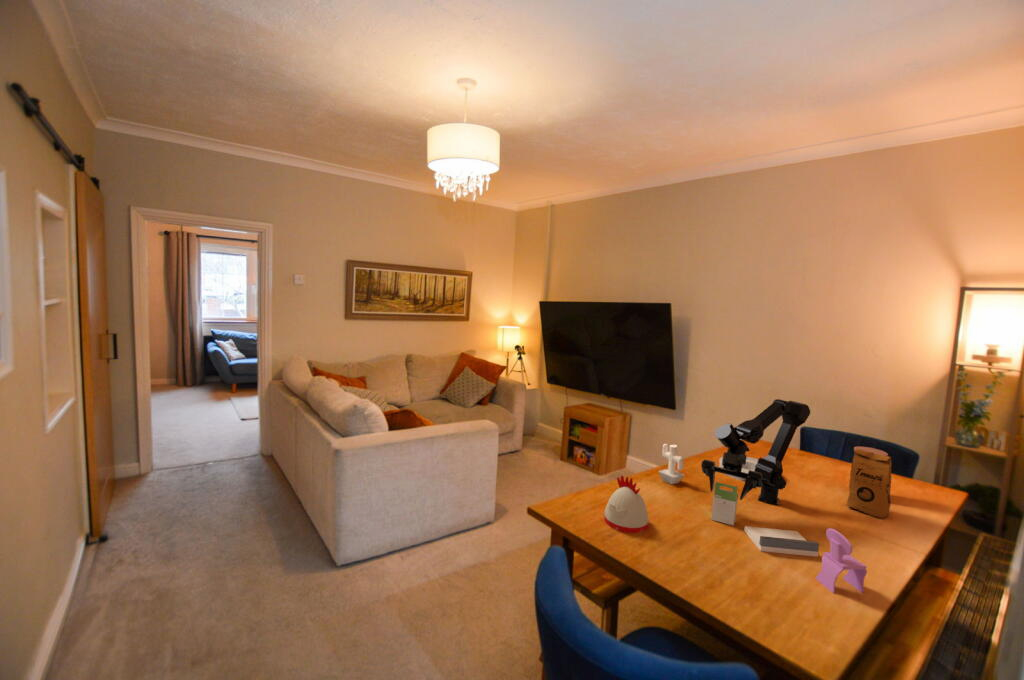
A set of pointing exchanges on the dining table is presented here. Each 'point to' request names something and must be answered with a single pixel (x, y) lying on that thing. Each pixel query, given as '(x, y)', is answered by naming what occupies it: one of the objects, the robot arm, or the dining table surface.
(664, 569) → the dining table surface
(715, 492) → the ink box
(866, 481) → the coffee package
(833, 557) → the toy chair
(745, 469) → the ashtray
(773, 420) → the robot arm
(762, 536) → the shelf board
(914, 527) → the dining table surface
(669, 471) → the figurine
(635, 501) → the kitchen timer
